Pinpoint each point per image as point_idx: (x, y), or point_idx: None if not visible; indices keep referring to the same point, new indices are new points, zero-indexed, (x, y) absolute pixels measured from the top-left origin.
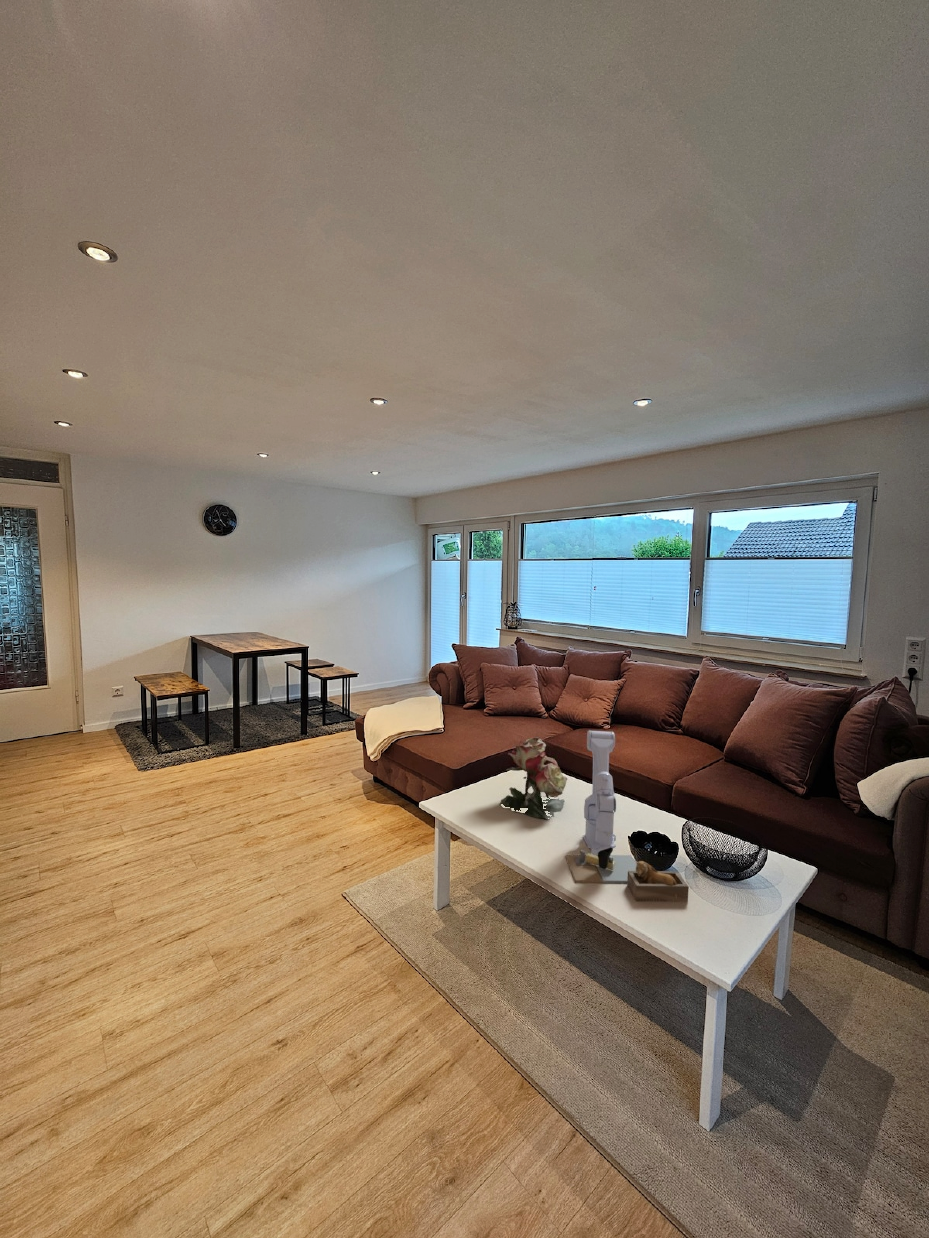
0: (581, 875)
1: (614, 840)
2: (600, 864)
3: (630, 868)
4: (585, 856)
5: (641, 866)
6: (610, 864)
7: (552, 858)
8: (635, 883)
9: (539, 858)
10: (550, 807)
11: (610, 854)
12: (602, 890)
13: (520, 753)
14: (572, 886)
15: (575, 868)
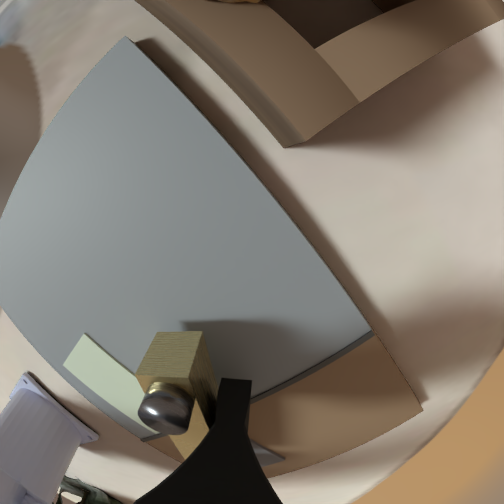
0: (371, 419)
1: (12, 485)
2: (248, 423)
3: (54, 225)
4: (174, 450)
5: None
6: (198, 381)
7: (278, 489)
8: (497, 20)
9: (305, 497)
10: (65, 481)
11: (174, 474)
12: (447, 283)
13: None
14: (449, 391)
15: (318, 452)
